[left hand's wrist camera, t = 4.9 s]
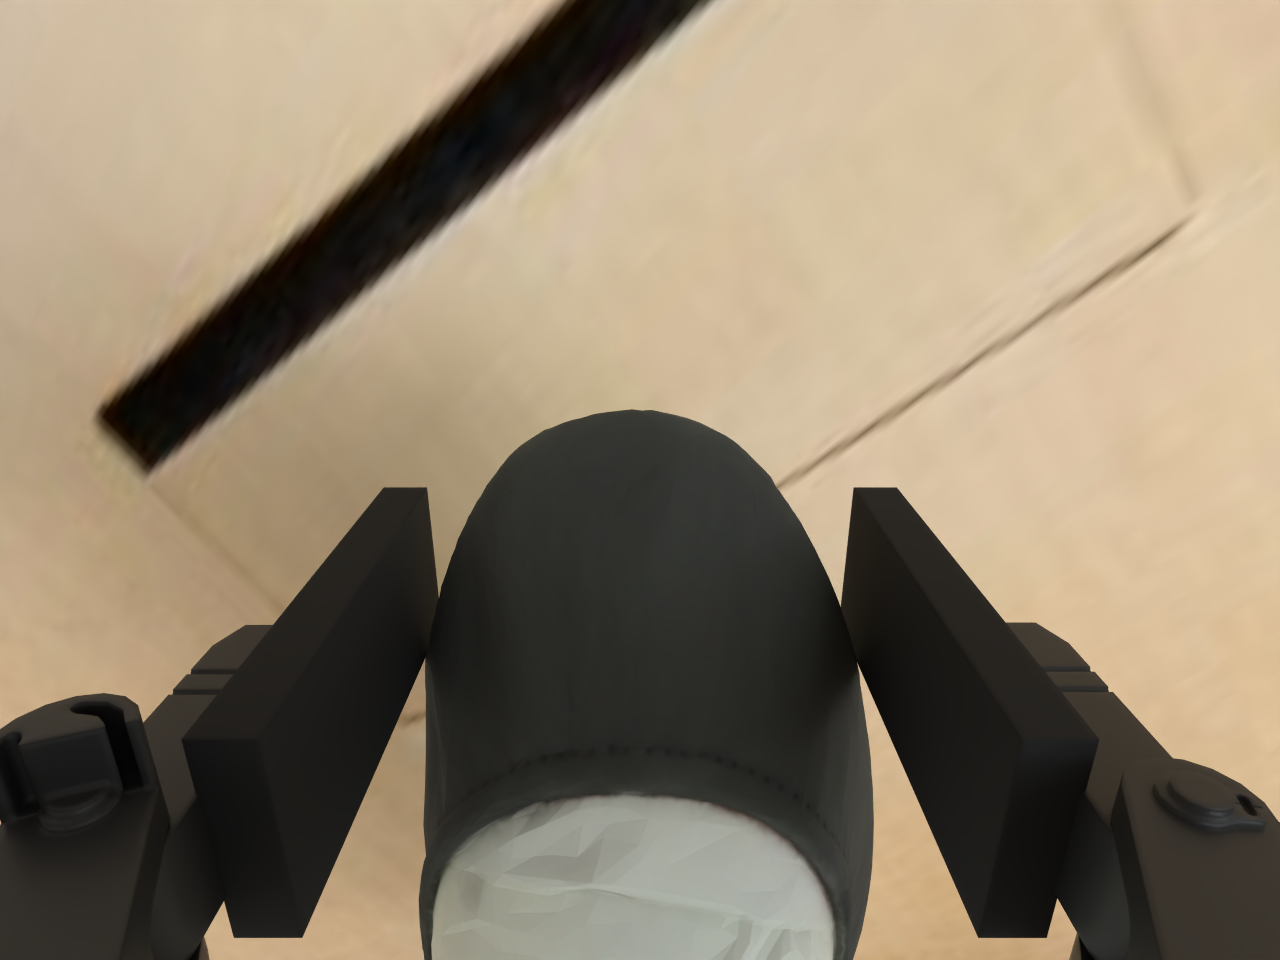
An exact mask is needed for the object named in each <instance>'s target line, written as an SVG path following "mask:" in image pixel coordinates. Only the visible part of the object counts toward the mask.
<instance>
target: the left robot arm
mask: <svg viewBox="0 0 1280 960" xmlns="http://www.w3.org/2000/svg"><path fill="white" fill-rule="evenodd" d="M438 599H439V595H438V586H437V577H436V568H435V558H434V549H433V540H432V530H431V521H430V512H429V503H428V493H427V488H383V489H382V490H381V492H380V493H379V494H378V495H377V497H376V498H375V499H374V500H373V502H372V503H371V504H370V505H369V507H368V508H367V509H366V510H365V512H364V513H363V514H362V515H361V517H360V518H359V519H358V520H357V522H356V523H355V524H354V525H353V526H352V528H351V529H350V530H349V531H348V533H347V534H346V535H345V536H344V538H343V539H342V540H341V541H340V543H339V544H338V545H337V546H336V548H335V549H334V550H333V551H332V553H331V554H330V555H329V556H328V558H327V559H326V560H325V561H324V562H323V564H322V565H321V566H320V567H319V569H318V570H317V571H316V572H315V574H314V575H313V576H312V577H311V579H310V580H309V581H308V582H307V584H306V585H305V586H304V587H303V589H302V590H301V591H300V592H299V594H298V595H297V596H296V597H295V598H294V600H293V601H292V602H291V603H290V605H289V606H288V607H287V608H286V610H285V611H284V612H283V613H282V615H281V616H280V617H279V618H278V620H277V621H276V622H275V623H274V625H245V626H243V627H242V628H240V629H239V630H237V631H235V632H234V633H232V634H231V635H229V636H227V637H226V638H224V639H223V640H221V641H219V642H218V643H216V644H215V645H213V646H212V647H211V648H210V649H209V650H208V651H207V653H206V654H205V655H204V656H203V657H202V658H201V659H200V660H199V661H198V663H197V664H196V665H195V666H194V667H193V668H192V669H191V674H187V675H186V676H185V677H184V678H183V679H182V680H181V682H180V683H179V684H178V685H177V686H176V687H175V688H174V689H173V695H168V696H167V697H166V698H165V699H164V700H163V702H162V703H161V704H160V705H159V706H158V707H157V708H156V709H155V710H154V712H153V713H152V714H151V715H150V716H149V717H148V718H147V719H146V721H145V722H144V723H143V721H142V718H141V714H140V711H139V707H138V705H137V704H135V703H134V702H133V701H131V700H130V699H128V698H127V697H126V696H119V695H113V694H106V693H102V694H92V695H83V696H75V697H72V698H68V699H65V700H61V701H58V702H54V703H51V704H47V705H44V706H42V707H40V708H38V709H36V710H34V711H31V712H29V713H27V714H25V715H23V716H20V717H18V718H16V719H15V720H13V721H12V722H10V723H9V724H7V725H6V726H4V727H3V728H1V729H0V821H1V825H0V960H209V955H208V949H207V945H206V942H205V938H204V935H205V933H206V931H207V930H208V928H209V926H210V924H211V923H212V921H213V919H214V917H215V915H216V914H217V912H218V910H219V908H220V907H221V905H222V903H223V901H224V902H225V906H226V910H227V913H228V917H229V921H230V925H231V928H232V932H233V936H234V938H302V937H303V935H304V933H305V930H306V928H307V926H308V923H309V921H310V919H311V917H312V914H313V912H314V910H315V907H316V905H317V903H318V901H319V898H320V896H321V894H322V892H323V889H324V887H325V885H326V882H327V880H328V878H329V876H330V873H331V871H332V869H333V867H334V864H335V862H336V860H337V857H338V855H339V853H340V851H341V848H342V846H343V844H344V842H345V839H346V837H347V835H348V832H349V830H350V828H351V826H352V823H353V821H354V819H355V816H356V814H357V812H358V810H359V807H360V805H361V803H362V801H363V798H364V796H365V794H366V791H367V789H368V787H369V785H370V782H371V780H372V778H373V776H374V773H375V771H376V769H377V766H378V764H379V762H380V760H381V757H382V755H383V753H384V751H385V748H386V746H387V744H388V741H389V739H390V737H391V735H392V732H393V730H394V728H395V725H396V723H397V721H398V719H399V716H400V714H401V712H402V710H403V707H404V705H405V703H406V700H407V698H408V696H409V694H410V691H411V689H412V687H413V685H414V682H415V680H416V678H417V675H418V673H419V671H420V669H421V666H422V664H423V662H424V660H425V657H426V654H427V651H428V646H429V640H430V631H431V627H432V623H433V620H434V616H435V612H436V605H437V602H438ZM841 610H842V613H843V616H844V619H845V622H846V625H847V628H848V631H849V634H850V637H851V641H852V644H853V648H854V652H855V655H856V660H857V663H858V665H859V667H860V670H861V672H862V674H863V676H864V679H865V681H866V683H867V686H868V688H869V690H870V692H871V695H872V697H873V699H874V701H875V704H876V706H877V708H878V711H879V713H880V715H881V717H882V720H883V722H884V724H885V726H886V729H887V731H888V733H889V736H890V738H891V740H892V742H893V745H894V747H895V749H896V752H897V754H898V756H899V758H900V761H901V763H902V765H903V767H904V770H905V772H906V774H907V777H908V779H909V781H910V783H911V786H912V788H913V790H914V792H915V795H916V797H917V799H918V802H919V804H920V806H921V808H922V811H923V813H924V815H925V817H926V820H927V822H928V824H929V827H930V829H931V831H932V833H933V836H934V838H935V840H936V842H937V845H938V847H939V849H940V852H941V854H942V856H943V858H944V861H945V863H946V865H947V868H948V870H949V872H950V874H951V877H952V879H953V881H954V883H955V886H956V888H957V890H958V893H959V895H960V897H961V899H962V902H963V904H964V906H965V908H966V911H967V913H968V915H969V918H970V920H971V922H972V924H973V927H974V929H975V931H976V933H977V936H978V938H1047V935H1048V931H1049V927H1050V923H1051V920H1052V916H1053V912H1054V908H1055V905H1056V901H1057V898H1058V900H1059V902H1060V903H1061V905H1062V907H1063V909H1064V910H1065V912H1066V914H1067V916H1068V917H1069V919H1070V921H1071V923H1072V924H1073V926H1074V928H1075V930H1076V931H1077V935H1076V938H1075V942H1074V945H1073V949H1072V952H1071V956H1070V959H1069V960H1280V822H1278V820H1277V819H1276V818H1275V816H1274V815H1273V814H1272V812H1271V811H1270V810H1269V808H1268V807H1267V805H1266V804H1265V803H1264V802H1263V801H1262V800H1261V799H1259V798H1258V797H1257V796H1256V795H1254V794H1253V793H1252V792H1250V791H1249V790H1248V789H1247V788H1245V787H1244V786H1243V785H1242V784H1240V783H1238V782H1236V781H1234V780H1232V779H1231V778H1229V777H1227V776H1225V775H1223V774H1221V773H1219V772H1217V771H1215V770H1213V769H1211V768H1208V767H1204V766H1201V765H1198V764H1195V763H1192V762H1189V761H1186V760H1182V759H1173V758H1172V757H1171V756H1170V755H1169V754H1168V753H1167V751H1166V750H1165V749H1164V748H1163V747H1162V746H1161V745H1160V744H1159V743H1158V741H1157V740H1156V739H1155V738H1154V737H1153V736H1152V735H1151V734H1150V733H1149V732H1148V730H1147V729H1146V728H1145V727H1144V726H1143V725H1142V724H1141V723H1140V722H1139V720H1138V719H1137V718H1136V717H1135V716H1134V715H1133V714H1132V713H1131V712H1130V711H1129V709H1128V708H1127V707H1126V706H1125V705H1124V704H1123V703H1122V702H1121V701H1120V699H1119V698H1118V697H1117V696H1116V695H1115V694H1114V693H1113V692H1109V691H1108V686H1107V685H1106V684H1105V683H1104V682H1103V681H1102V680H1101V678H1100V677H1099V676H1098V675H1097V674H1096V673H1095V672H1091V671H1090V666H1089V665H1088V664H1087V663H1086V662H1085V661H1084V660H1083V659H1082V657H1081V656H1080V655H1079V654H1078V653H1077V652H1076V651H1075V650H1074V649H1073V647H1072V646H1071V645H1070V644H1069V643H1068V642H1066V641H1064V640H1063V639H1061V638H1059V637H1058V636H1056V635H1055V634H1053V633H1051V632H1050V631H1048V630H1047V629H1045V628H1043V627H1042V626H1040V625H1038V624H1037V623H1005V621H1004V620H1003V619H1002V618H1001V616H1000V615H999V614H998V613H997V611H996V610H995V609H994V608H993V606H992V605H991V604H990V603H989V601H988V600H987V599H986V598H985V596H984V595H983V594H982V593H981V592H980V590H979V589H978V588H977V587H976V585H975V584H974V583H973V582H972V580H971V579H970V578H969V577H968V575H967V574H966V573H965V572H964V570H963V569H962V568H961V567H960V565H959V564H958V563H957V562H956V561H955V559H954V558H953V557H952V556H951V554H950V553H949V552H948V551H947V549H946V548H945V547H944V546H943V544H942V543H941V542H940V541H939V539H938V538H937V537H936V536H935V534H934V533H933V532H932V531H931V529H930V528H929V527H928V526H927V525H926V523H925V522H924V521H923V520H922V518H921V517H920V516H919V515H918V513H917V512H916V511H915V510H914V508H913V507H912V506H911V505H910V503H909V502H908V501H907V500H906V498H905V497H904V496H903V495H902V493H901V492H900V491H899V490H898V489H897V488H854V490H853V499H852V508H851V517H850V527H849V536H848V545H847V554H846V564H845V573H844V582H843V591H842V601H841Z"/></svg>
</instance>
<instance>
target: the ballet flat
mask: <svg viewBox="0 0 1280 960" xmlns="http://www.w3.org/2000/svg"><path fill="white" fill-rule="evenodd" d="M425 685H426V774H425V803H424V836H425V847H426V858H425V861H424V865H423V870H422V875H421V884H420V893H419V916H420V929H421V938H422V948H423V951H424V959H425V960H853V957H854V954H855V951H856V948H857V944H858V941H859V938H860V934H861V931H862V926H863V921H864V916H865V911H866V906H867V900H868V894H869V887H870V880H871V871H872V856H873V829H874V815H873V786H872V775H871V757H870V748H869V740H868V734H867V727H866V720H865V713H864V706H863V700H862V693H861V687H860V676H859V670H858V665H857V660H856V655H855V652H854V648H853V644H852V641H851V637H850V634H849V631H848V628H847V625H846V622H845V619H844V616H843V613H842V610H841V607H840V604H839V601H838V599H837V596H836V594H835V591H834V589H833V587H832V584H831V582H830V580H829V577H828V575H827V573H826V571H825V569H824V567H823V565H822V563H821V561H820V559H819V556H818V554H817V552H816V550H815V548H814V546H813V544H812V543H811V541H810V539H809V537H808V535H807V533H806V531H805V530H804V528H803V526H802V524H801V522H800V521H799V519H798V518H797V516H796V515H795V513H794V512H793V510H792V509H791V507H790V506H789V504H788V503H787V501H786V500H785V499H784V497H783V496H782V494H781V493H780V491H779V490H778V489H777V488H776V486H775V484H774V482H773V480H772V478H771V477H770V476H769V475H768V473H767V472H766V471H765V470H764V469H763V468H762V467H761V466H760V465H759V464H758V463H757V462H756V461H755V460H754V459H753V458H752V457H751V456H750V455H749V454H748V453H747V452H746V451H745V450H743V449H742V448H741V447H740V446H739V445H738V444H737V443H735V442H734V441H733V440H731V439H730V438H728V437H727V436H725V435H723V434H721V433H719V432H717V431H715V430H713V429H711V428H709V427H707V426H705V425H703V424H701V423H699V422H696V421H693V420H690V419H688V418H684V417H680V416H676V415H672V414H667V413H663V412H658V411H653V410H646V411H641V410H623V411H614V412H606V413H599V414H593V415H590V416H587V417H584V418H580V419H575V420H571V421H568V422H565V423H562V424H560V425H557V426H555V427H553V428H550V429H547V430H544V431H542V432H541V433H539V434H538V435H536V436H535V437H533V438H532V439H530V440H528V441H527V442H525V443H524V444H522V445H521V446H520V447H519V448H518V449H516V450H515V451H514V452H513V453H512V454H511V455H510V456H509V457H508V458H507V460H506V461H505V462H504V464H503V465H502V466H501V467H500V468H499V470H498V471H497V473H496V474H495V476H494V477H493V478H492V479H491V481H490V482H489V483H488V485H487V486H486V488H485V490H484V492H483V494H482V495H481V497H480V498H479V500H478V501H477V503H476V505H475V506H474V508H473V510H472V512H471V514H470V515H469V517H468V519H467V522H466V524H465V526H464V528H463V530H462V532H461V534H460V536H459V538H458V541H457V545H456V548H455V550H454V552H453V555H452V557H451V560H450V563H449V566H448V569H447V572H446V575H445V578H444V581H443V584H442V586H441V592H440V597H439V599H438V602H437V605H436V612H435V616H434V620H433V623H432V627H431V631H430V640H429V646H428V651H427V654H426V658H425Z"/></svg>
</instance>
